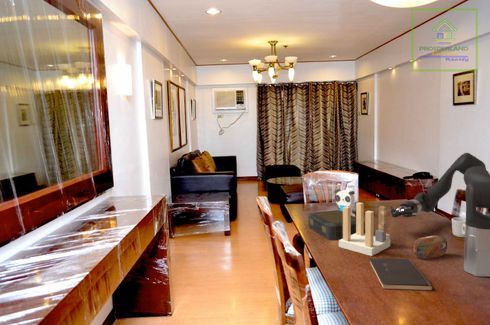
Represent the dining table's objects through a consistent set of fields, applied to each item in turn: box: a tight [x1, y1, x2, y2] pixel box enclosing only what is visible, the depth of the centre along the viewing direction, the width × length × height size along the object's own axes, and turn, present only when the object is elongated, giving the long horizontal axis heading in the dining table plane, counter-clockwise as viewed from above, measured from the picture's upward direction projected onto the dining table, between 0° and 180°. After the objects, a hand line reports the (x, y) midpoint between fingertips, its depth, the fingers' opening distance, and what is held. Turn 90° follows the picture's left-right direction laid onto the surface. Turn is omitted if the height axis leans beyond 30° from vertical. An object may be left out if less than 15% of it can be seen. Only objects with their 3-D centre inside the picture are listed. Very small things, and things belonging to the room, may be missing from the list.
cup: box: [451, 216, 466, 238], centre depth 167 cm, size 11×8×8 cm
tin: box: [412, 235, 448, 260], centre depth 145 cm, size 15×3×8 cm, turn 105°
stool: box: [338, 201, 391, 257], centre depth 158 cm, size 16×18×18 cm
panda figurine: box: [333, 188, 356, 217], centre depth 211 cm, size 12×11×15 cm
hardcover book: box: [368, 257, 434, 291], centre depth 129 cm, size 16×23×2 cm
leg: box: [377, 205, 387, 241], centre depth 157 cm, size 2×2×15 cm
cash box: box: [307, 209, 365, 241], centre depth 182 cm, size 25×20×8 cm
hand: (393, 215), depth 164 cm, fingers closed
